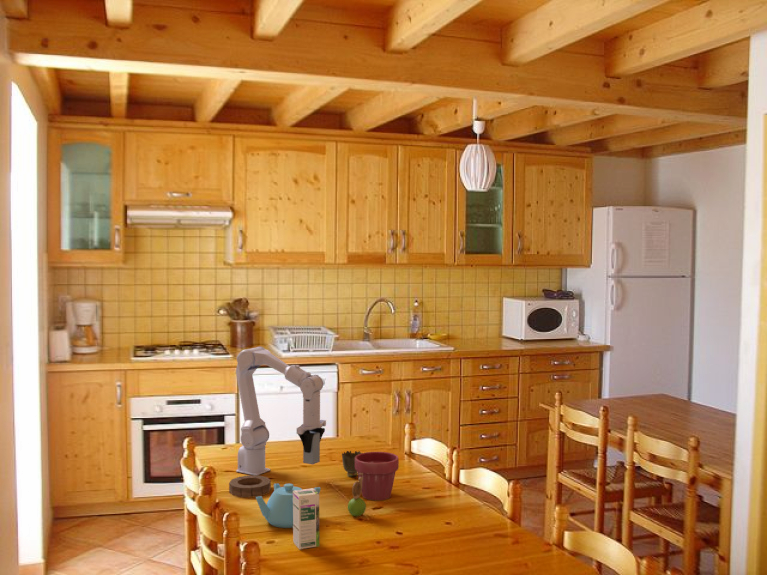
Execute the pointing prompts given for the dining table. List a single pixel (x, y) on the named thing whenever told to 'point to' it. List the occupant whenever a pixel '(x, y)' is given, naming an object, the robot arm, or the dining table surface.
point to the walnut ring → (249, 486)
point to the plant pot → (377, 473)
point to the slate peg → (313, 450)
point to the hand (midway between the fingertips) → (311, 450)
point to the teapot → (280, 505)
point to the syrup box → (306, 518)
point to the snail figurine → (357, 499)
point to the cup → (350, 463)
